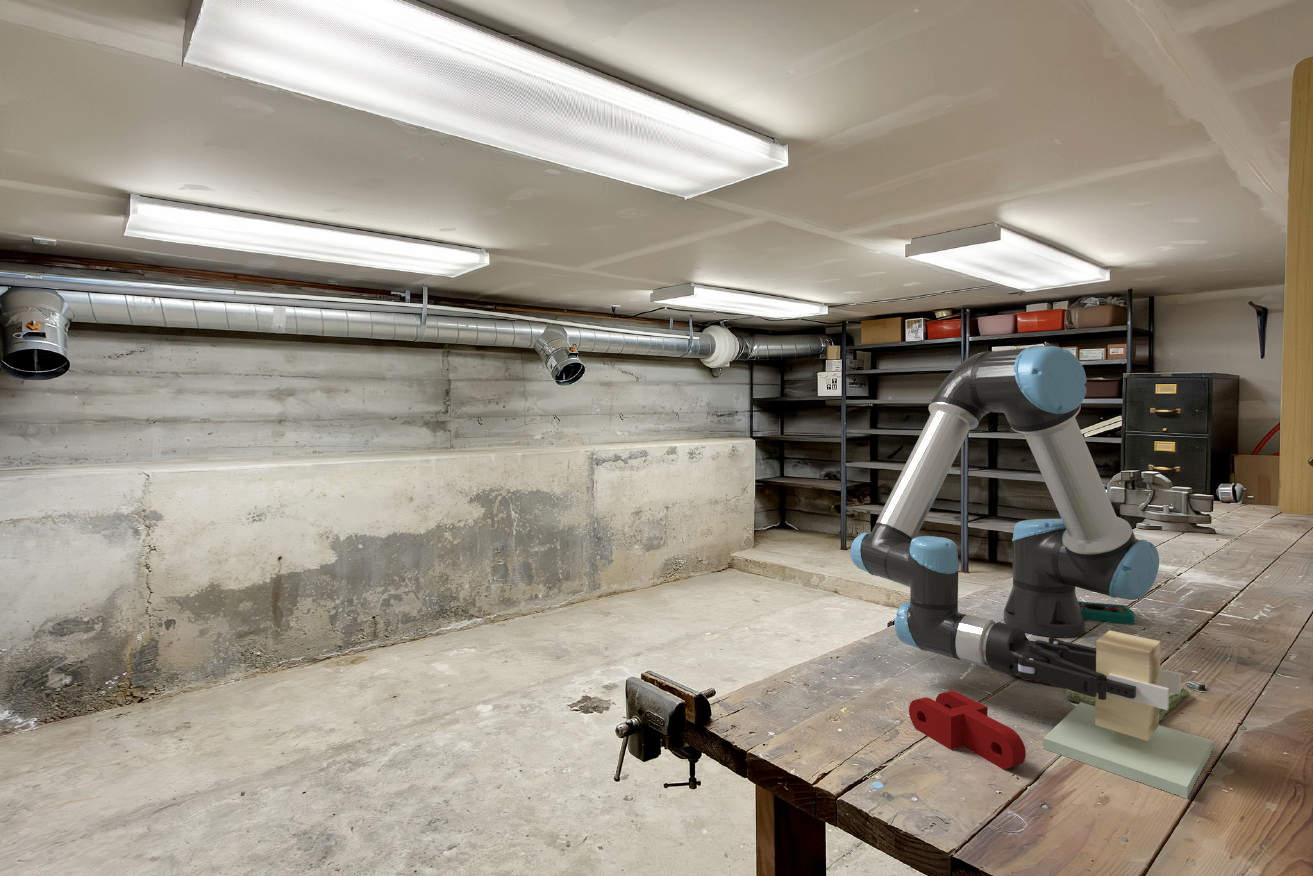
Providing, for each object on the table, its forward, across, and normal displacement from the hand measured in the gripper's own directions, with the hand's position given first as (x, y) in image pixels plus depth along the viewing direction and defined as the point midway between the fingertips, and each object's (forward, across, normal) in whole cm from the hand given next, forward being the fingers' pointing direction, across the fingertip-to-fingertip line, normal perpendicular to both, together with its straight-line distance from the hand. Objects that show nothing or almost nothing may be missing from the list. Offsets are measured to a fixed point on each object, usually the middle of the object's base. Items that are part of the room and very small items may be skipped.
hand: (1173, 691), depth 87 cm
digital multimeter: (-26, -60, -10) cm, 67 cm away
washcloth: (-10, -19, -11) cm, 24 cm away
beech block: (-5, 0, -6) cm, 8 cm away
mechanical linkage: (-21, +14, -11) cm, 27 cm away
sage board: (-5, 0, -10) cm, 11 cm away
